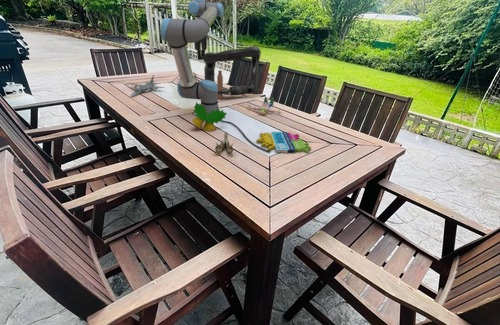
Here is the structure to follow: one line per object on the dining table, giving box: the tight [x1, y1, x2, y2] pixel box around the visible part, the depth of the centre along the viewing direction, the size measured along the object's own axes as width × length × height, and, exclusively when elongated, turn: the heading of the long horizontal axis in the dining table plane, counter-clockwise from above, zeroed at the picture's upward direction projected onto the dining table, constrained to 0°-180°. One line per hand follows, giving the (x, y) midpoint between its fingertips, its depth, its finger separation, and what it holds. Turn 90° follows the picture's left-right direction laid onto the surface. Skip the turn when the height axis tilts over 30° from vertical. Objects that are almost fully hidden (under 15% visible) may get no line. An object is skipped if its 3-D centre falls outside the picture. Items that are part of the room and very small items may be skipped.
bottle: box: [216, 69, 224, 100], centre depth 219 cm, size 4×4×23 cm
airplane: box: [130, 74, 165, 97], centre depth 228 cm, size 38×32×10 cm
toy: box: [246, 95, 283, 116], centre depth 203 cm, size 28×7×30 cm
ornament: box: [191, 102, 228, 132], centre depth 162 cm, size 21×8×15 cm, turn 105°
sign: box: [256, 131, 312, 154], centre depth 152 cm, size 26×2×30 cm
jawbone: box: [214, 131, 234, 156], centre depth 136 cm, size 9×15×10 cm
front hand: (201, 59), depth 196 cm, fingers closed on cap, 4 cm apart
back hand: (216, 91), depth 220 cm, fingers closed on bottle, 4 cm apart
